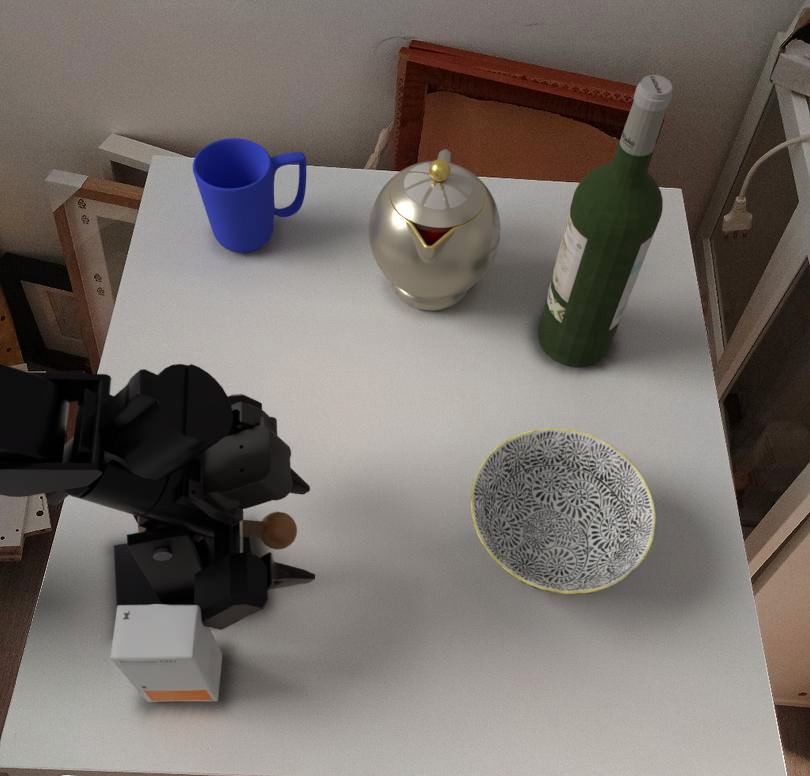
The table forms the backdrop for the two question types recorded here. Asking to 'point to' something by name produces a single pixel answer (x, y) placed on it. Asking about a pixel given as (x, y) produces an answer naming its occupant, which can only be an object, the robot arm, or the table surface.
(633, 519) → the bowl
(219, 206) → the mug
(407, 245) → the teapot
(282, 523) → the lever
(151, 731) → the table surface
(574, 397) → the table surface
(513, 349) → the table surface
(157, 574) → the bracket
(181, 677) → the cosmetic box
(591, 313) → the wine bottle
